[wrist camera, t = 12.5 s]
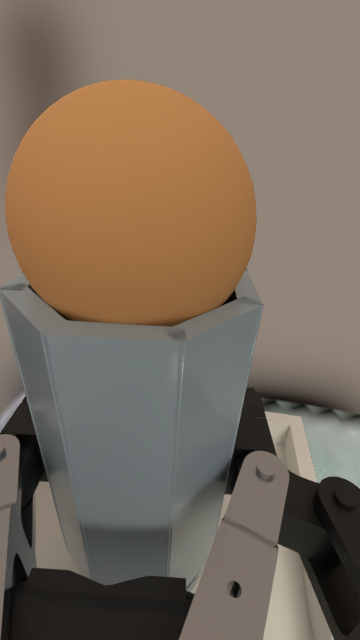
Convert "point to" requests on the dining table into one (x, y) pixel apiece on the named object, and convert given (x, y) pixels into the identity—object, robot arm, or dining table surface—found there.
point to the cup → (135, 428)
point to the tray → (290, 575)
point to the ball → (130, 206)
